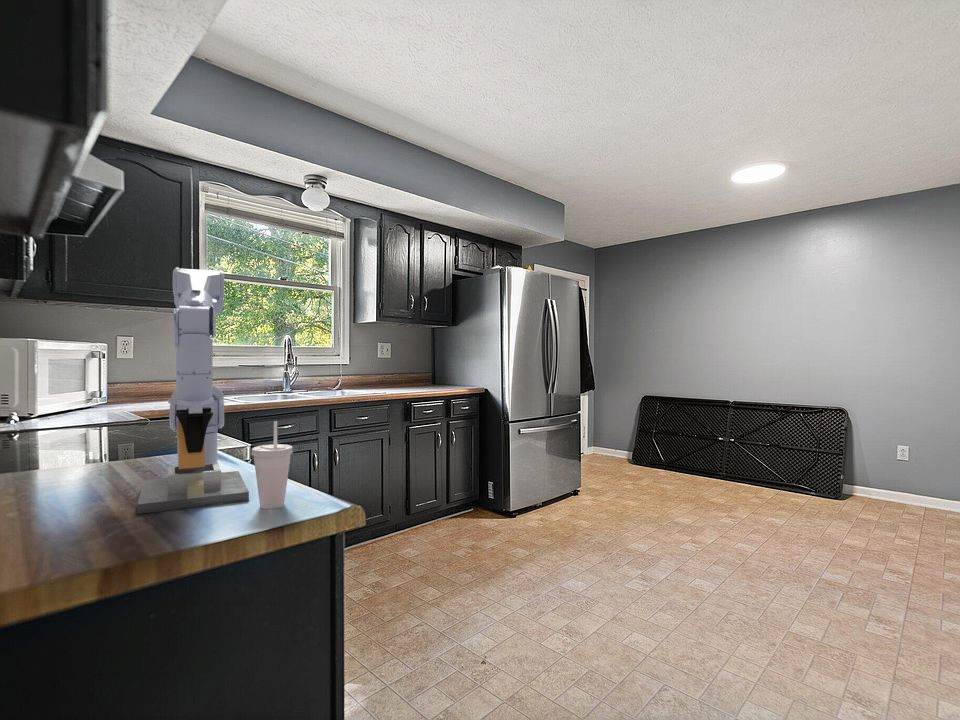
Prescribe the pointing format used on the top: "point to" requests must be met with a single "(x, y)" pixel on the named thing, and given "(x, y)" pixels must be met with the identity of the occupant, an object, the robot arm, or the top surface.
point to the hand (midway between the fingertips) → (194, 450)
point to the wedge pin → (188, 458)
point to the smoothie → (272, 472)
